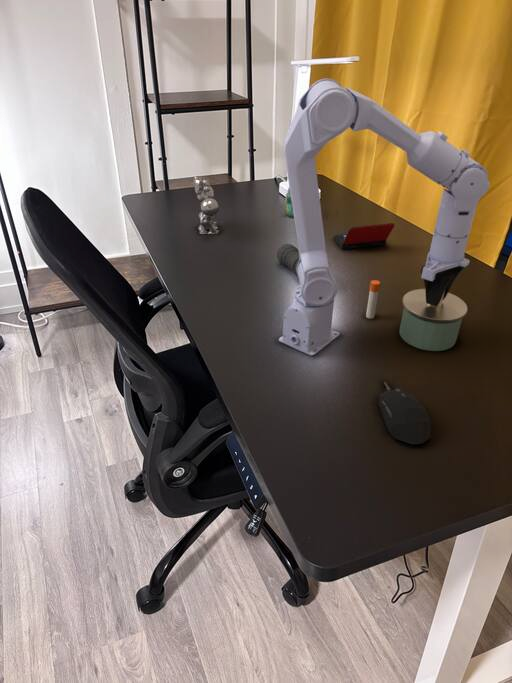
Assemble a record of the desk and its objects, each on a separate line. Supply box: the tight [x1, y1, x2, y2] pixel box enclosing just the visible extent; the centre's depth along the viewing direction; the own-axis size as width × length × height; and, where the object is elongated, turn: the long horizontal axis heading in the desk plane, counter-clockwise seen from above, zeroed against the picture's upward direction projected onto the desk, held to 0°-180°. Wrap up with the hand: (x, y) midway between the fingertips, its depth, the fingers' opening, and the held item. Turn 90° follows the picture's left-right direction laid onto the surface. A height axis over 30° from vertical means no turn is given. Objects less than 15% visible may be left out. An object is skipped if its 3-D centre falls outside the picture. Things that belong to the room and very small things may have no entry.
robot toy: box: [193, 175, 220, 235], centre depth 136 cm, size 15×6×15 cm, turn 12°
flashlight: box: [276, 243, 299, 277], centre depth 118 cm, size 15×5×5 cm, turn 25°
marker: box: [365, 279, 381, 320], centre depth 101 cm, size 2×2×8 cm
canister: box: [399, 306, 463, 352], centre depth 96 cm, size 11×11×6 cm
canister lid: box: [402, 288, 468, 322], centre depth 93 cm, size 12×12×4 cm
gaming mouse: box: [377, 381, 432, 445], centre depth 78 cm, size 6×15×4 cm, turn 6°
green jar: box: [284, 187, 294, 218], centre depth 149 cm, size 5×5×8 cm
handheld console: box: [332, 222, 395, 250], centre depth 132 cm, size 12×11×7 cm
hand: (435, 301), depth 94 cm, fingers closed on canister lid, 2 cm apart
